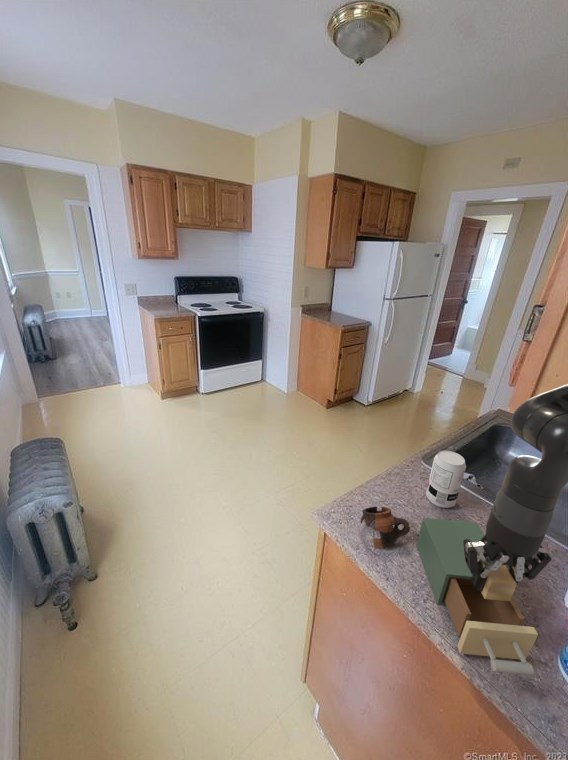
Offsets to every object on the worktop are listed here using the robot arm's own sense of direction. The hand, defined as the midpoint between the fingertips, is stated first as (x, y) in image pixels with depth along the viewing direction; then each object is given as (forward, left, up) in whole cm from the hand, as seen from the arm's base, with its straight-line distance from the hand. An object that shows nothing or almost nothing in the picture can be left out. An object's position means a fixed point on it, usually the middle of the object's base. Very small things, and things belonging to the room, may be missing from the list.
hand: (491, 587), depth 59 cm
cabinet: (0, -11, -11) cm, 16 cm away
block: (0, 0, 0) cm, 0 cm away
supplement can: (-6, -36, -11) cm, 38 cm away
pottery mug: (+14, -21, -11) cm, 28 cm away
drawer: (0, +1, -10) cm, 10 cm away
